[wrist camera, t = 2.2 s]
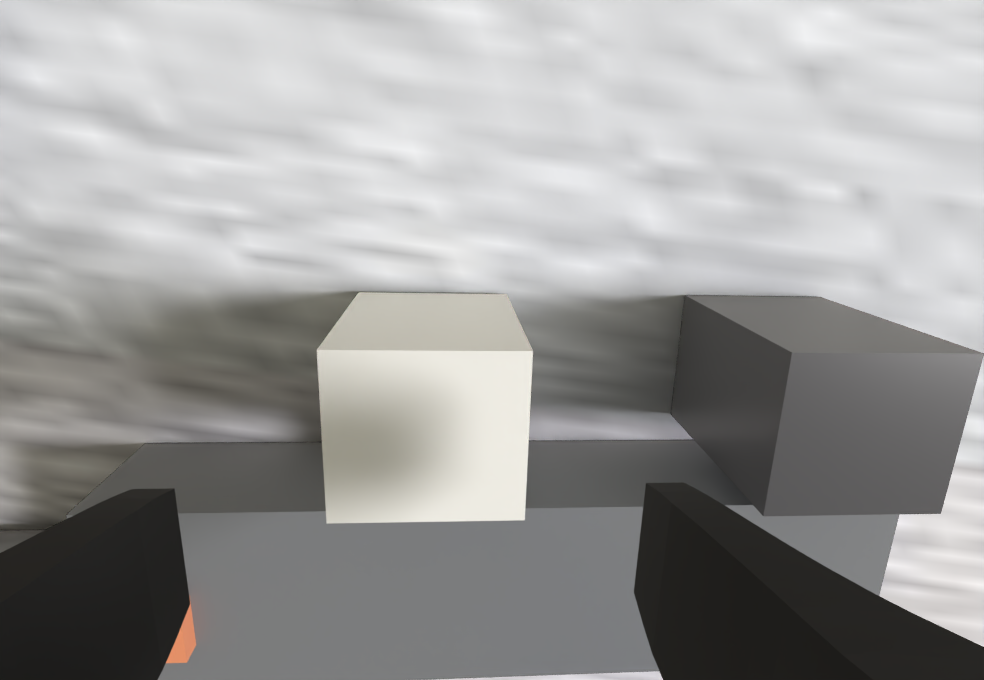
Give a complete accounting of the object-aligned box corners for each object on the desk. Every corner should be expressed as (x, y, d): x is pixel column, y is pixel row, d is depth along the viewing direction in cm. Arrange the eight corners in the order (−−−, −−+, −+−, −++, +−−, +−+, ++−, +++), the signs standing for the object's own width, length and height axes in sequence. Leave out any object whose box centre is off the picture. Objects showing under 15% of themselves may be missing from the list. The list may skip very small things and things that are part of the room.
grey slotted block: (789, 576, 22) (911, 723, 16) (-21, 595, 20) (-216, 773, 14) (843, 297, 19) (1017, 354, 13) (-100, 285, 17) (-388, 346, 11)
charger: (499, 491, 20) (520, 619, 14) (365, 493, 19) (332, 624, 14) (506, 294, 18) (533, 351, 12) (358, 292, 17) (316, 350, 12)
